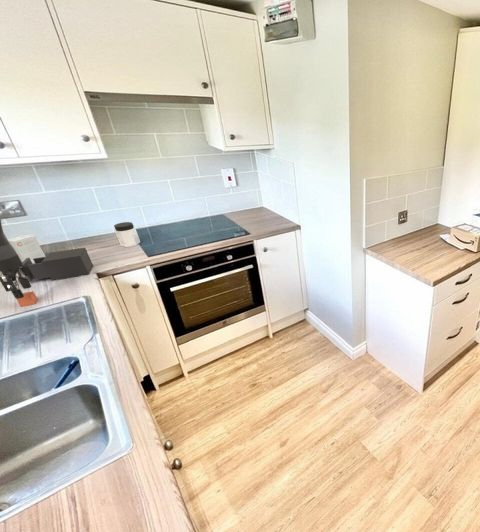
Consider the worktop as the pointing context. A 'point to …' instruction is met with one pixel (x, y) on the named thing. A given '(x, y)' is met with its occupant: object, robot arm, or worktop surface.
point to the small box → (26, 247)
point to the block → (27, 299)
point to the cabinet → (67, 263)
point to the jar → (126, 234)
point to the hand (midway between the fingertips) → (24, 292)
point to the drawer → (35, 269)
